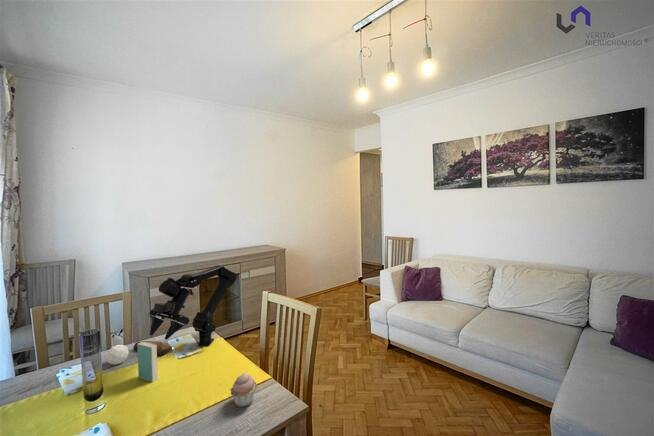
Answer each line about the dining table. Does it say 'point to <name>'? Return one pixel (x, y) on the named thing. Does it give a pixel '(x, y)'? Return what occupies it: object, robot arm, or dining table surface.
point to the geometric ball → (117, 354)
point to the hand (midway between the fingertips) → (158, 337)
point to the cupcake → (243, 390)
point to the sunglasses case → (161, 347)
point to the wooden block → (147, 361)
